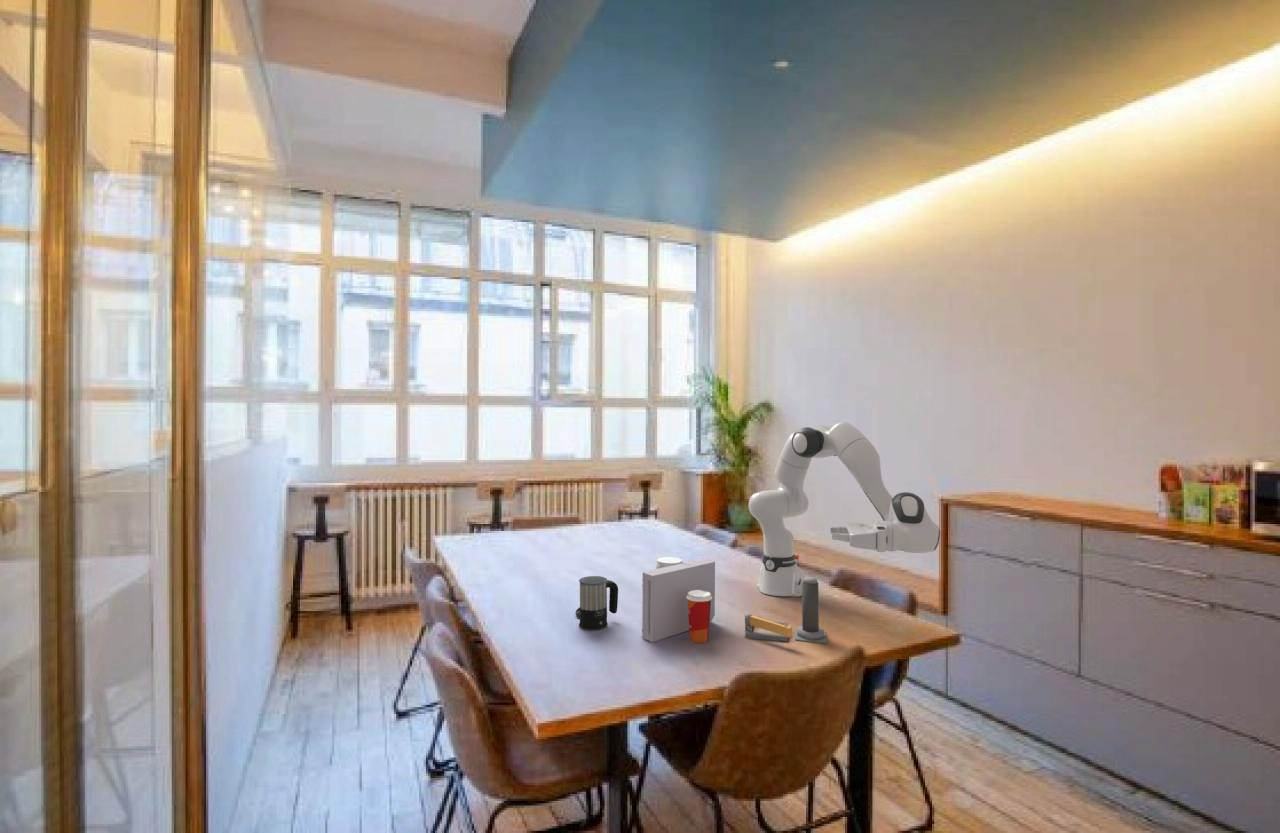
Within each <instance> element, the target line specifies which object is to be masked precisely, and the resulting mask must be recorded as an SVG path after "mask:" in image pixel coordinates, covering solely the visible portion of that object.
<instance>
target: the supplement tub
mask: <svg viewBox="0 0 1280 833" xmlns="http://www.w3.org/2000/svg"><path fill="white" fill-rule="evenodd" d="M682 563H683V559H681V558H679V557H673V556H663V557H658V558H657V560H656V568H655V569H659V568H664V567H668V566H673V565H678V564H682Z"/></svg>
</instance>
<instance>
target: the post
mask: <svg viewBox="0 0 1280 833" xmlns="http://www.w3.org/2000/svg"><path fill="white" fill-rule="evenodd" d="M745 631H751V632H753V627H752V626H751V625H746V624H745V623H744V632H745Z"/></svg>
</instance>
